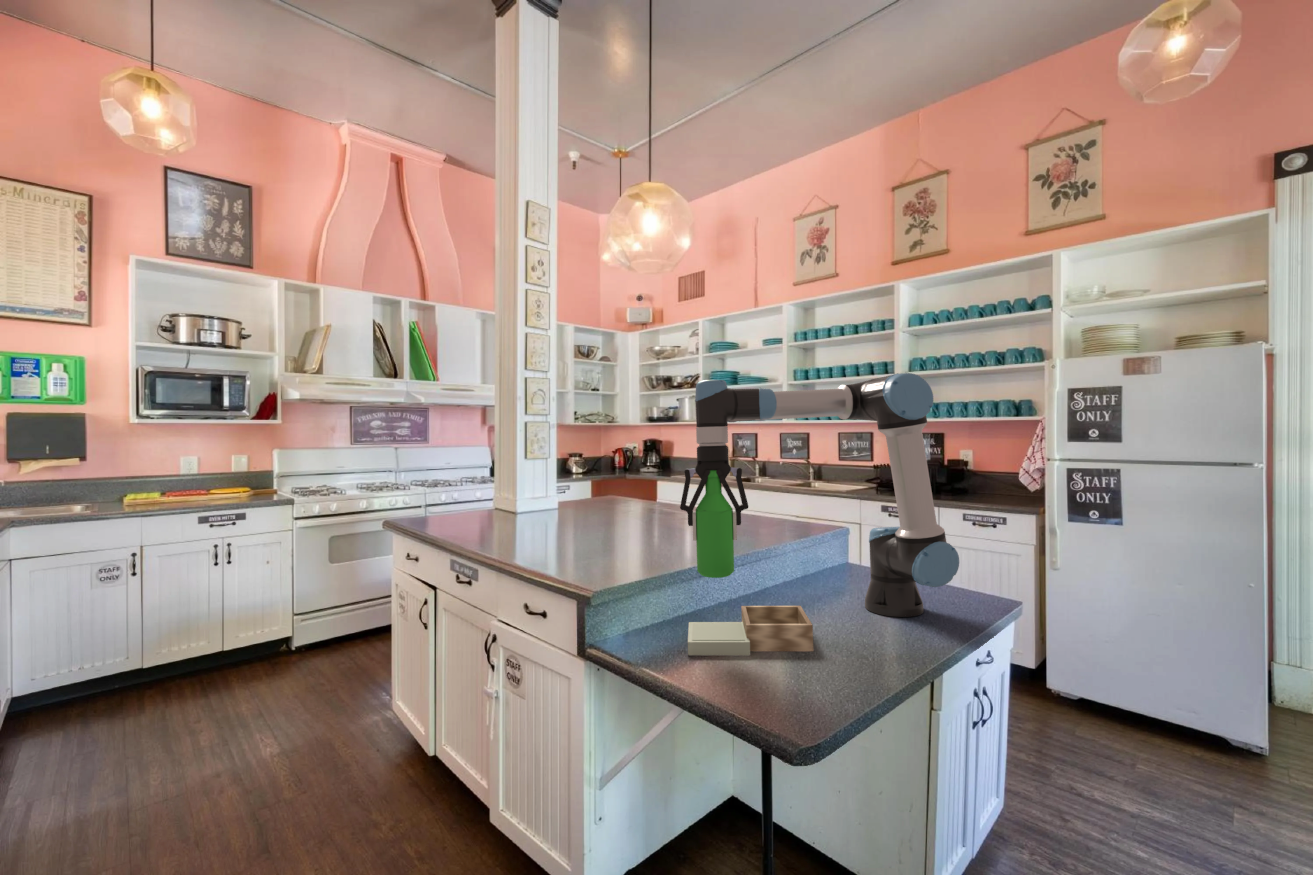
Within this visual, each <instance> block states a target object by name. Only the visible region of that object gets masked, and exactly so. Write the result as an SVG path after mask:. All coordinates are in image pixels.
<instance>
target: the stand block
mask: <svg viewBox="0 0 1313 875" xmlns="http://www.w3.org/2000/svg"><path fill="white" fill-rule="evenodd" d="M687 630H688V634H687V656H744V657H745V656H751V651H750V641H749V638H746V633H745V629H744V625H743V622H742V621H713V622H712V621H689V622H688V629H687Z"/></svg>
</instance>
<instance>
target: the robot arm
mask: <svg viewBox="0 0 1313 875" xmlns="http://www.w3.org/2000/svg"><path fill="white" fill-rule="evenodd" d="M694 402H695V418H696V425H695V426H696V428H695V429H696V433H695V434H696V444H698V445H699V446H697V447H696V466H695V468H694V467H693V468H685V470H684V477H685V480H684V485H683V491H682V497H681V501H680V506H679V508H680V510H681V511H684V512H686V513H687V524H688V527H692V538H693V539H692V541H696V511H694V509H695V508H696V505H697V502H698V501H699V498H700V496H701V494H702V492H703V490H704V488H705V483H707V479H708V476H709V474H710V470H717V471H716V473H717V475H718V477H719V479H720V483H721V486H723V489H724V490H725V492H726V494H727V496H728V498H729V500H730V502H731V504H732V505H733V507H734V510H733V541H737V539H738V537H737V536H738V534H737V532H738V531H737V526H741V524H742V512H743V511H744V510H748V509H749V503H748V499H747V495H746V491H745V486H744V483H743V479H742V476H743V475H742V474H743V469H742V467H733V466H732V467H731V466H730V461H729V460H730V459H729V447H728V445H726V444H727V443H729V433H728V431H729V428H728V425H729V424H728V423H736V422H750V421H767V420H786V419H787V420H788V419H805V418H807V419H808V418H809V419H810V418H827V417H838V418H839V419H840V420H857V421H858V420H859V421H870V422H871V421H872V422H876V424H877V430H878V432H880V433H881V434H883V435H884V436H885V439H886V447H887V453H888V458H889V465H890V470H891V477H892V483H893V489H894V495H895V496H894V497H895V500H896V501H895V502H896V508H897V514H898V520H899V526H883V527H882V526H881V527H875V528H871V529H870V530H869V537H868V538H869V539H868V543H869V563H870V565H869V566H870V568H869V569H870V582H869V584H868V587H867V590H866V594H865V597H864V608H865V609H866V610H867V611H869V612H871V613H873V614H878V615H881V616H886V617H896V618H898V617H899V618H911V617H918V616H920V615H922V614H924V602H923V599H922V597H921V595H920V591H919V587H918V586H917V584H918V585H920V586H925V587H931V588H941V587H944V586H945V585H947V584H949V583H950V582H951V581H952V580H953V577H954V576H956V575H957V573H958V571H959V568H960V557H959V553H958V551H957V549H956V548H955V547H953V545H952V544H951V543H948V542H947V537H946V531H945V529H944V528H943V527H942V526H941V525H939V524H938V523H937V518H936V517H937V516H936V511H935V505H934V497H933V492H932V486H931V485H932V484H931V480H930V472H929V466H928V460H927V456H926V449H925V442H924V441H925V440H924V436H923V431H924V430H923V429H924V428H925V427H926V426H927V425H928V420H927V415H928V413H930V412H931V408H933V404H934V393H933V390H932V388H931V386H930V384H929V382H927V380H926V379H924V378H923V377H921V376H920V375H918V374H915V373H913V372H912V373H911V372H904V373H903V372H900V373H899V372H898V373H893V374H891V375H886V376H883V377H877V378H872V379H869V380H864V381H861V382H855V383H852V384H841V385H839V386H838V387H837V388H825V389H823V388H822V389H803V390H802V389H801V390H783V391H782V390H781V391H779V390H778V391H774V390H772V389H770V388H761V387H759V388H729V387H728V386H727V381H726V380H724V379H705V380H700V381H698V382H697V383H696V385H695V397H694ZM695 473H696V474H697V475H698V477H699V478H700V481H699V484H698V485H697V488H696V490H695V492H694V494H693V497H692V498H691V501H690V503H689V505H687V500H688V494H689V491H690V490H689V489H690V484H691V479H692V478H693V477H694V474H695ZM730 473H732V476H733V477H735V481H736V484H737V490H738V492H739V493H738V494H739V497H740V501H741V504H739V502H738V501H737V498H736V497H735V495H734V493H733V491H732V489H731V488H730V485H729V484H728V482H727V479H726V478H727V477H728V475H730Z"/></svg>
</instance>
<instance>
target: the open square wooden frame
mask: <svg viewBox="0 0 1313 875" xmlns="http://www.w3.org/2000/svg"><path fill="white" fill-rule="evenodd" d="M740 607H741V622H743V625H744V629H745V633H746V638H749V641H750V652H814V630H813V629H814V626H813V624H812V622H811V620H810V619H809V617H808V616H807V614H806V612H805V611H804V609H803V607H802V606H801V605H740Z"/></svg>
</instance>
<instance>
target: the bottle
mask: <svg viewBox="0 0 1313 875" xmlns="http://www.w3.org/2000/svg"><path fill="white" fill-rule="evenodd" d="M716 471H717V470H710V474H709V476H708V479H707V483H705V486H704V488H705V493H704V495H703V496H702V498H701V500H700V501H699V503H698V505H697V507H695V512H696V540H695V541H696V568H697V570H696V571H697V572H698V574H699V575H700V576H702V577H704V578H711V579H712V578H713V579H721V578H727V577H729V576H731V575H732V574H733V573H734V572H735V554H734V553H735V551H734V550H735V549H734V548H735V546H734V545H735V544H734V542H735V540H733V511H734V509H733V507H732V506H731V504H730V503H729V501H727V499H726V498H725V496H724V494H723V493H722V492H723V490H722V483H720V479H719V477H718V475H717V473H716Z"/></svg>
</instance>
